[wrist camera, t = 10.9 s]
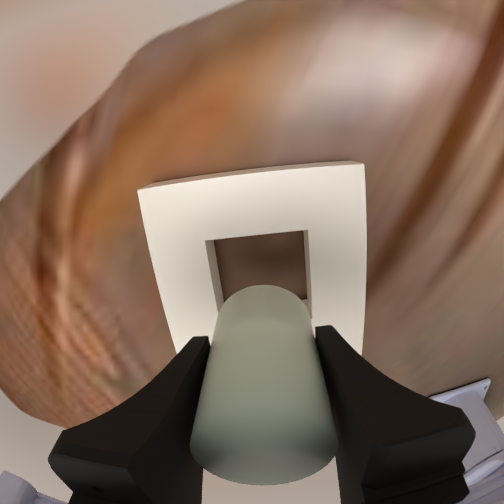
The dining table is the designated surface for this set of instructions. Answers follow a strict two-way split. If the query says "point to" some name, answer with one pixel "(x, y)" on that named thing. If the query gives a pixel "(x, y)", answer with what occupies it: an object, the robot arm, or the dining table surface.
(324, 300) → the white flat block
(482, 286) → the dining table surface
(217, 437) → the peg sage
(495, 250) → the dining table surface
